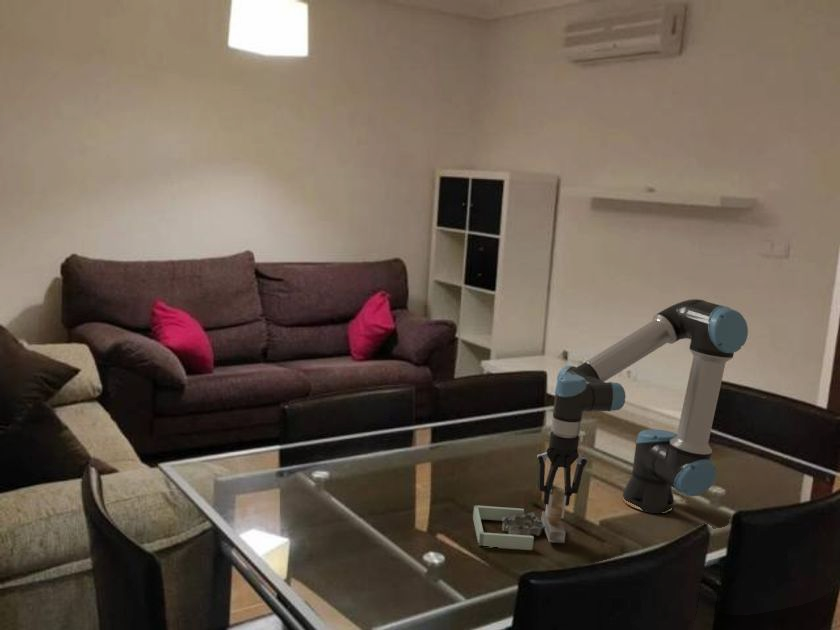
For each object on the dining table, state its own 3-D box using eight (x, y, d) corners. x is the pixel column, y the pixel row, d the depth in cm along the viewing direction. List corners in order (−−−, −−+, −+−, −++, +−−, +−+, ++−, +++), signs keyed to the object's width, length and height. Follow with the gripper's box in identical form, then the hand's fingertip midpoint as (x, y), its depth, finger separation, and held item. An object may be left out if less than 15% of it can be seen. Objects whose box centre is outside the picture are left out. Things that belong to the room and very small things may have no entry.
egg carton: (510, 540, 208) (512, 525, 207) (498, 526, 214) (499, 513, 214) (545, 536, 211) (547, 522, 210) (532, 523, 218) (533, 509, 217)
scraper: (555, 522, 217) (560, 478, 214) (564, 542, 205) (570, 497, 203) (541, 521, 217) (546, 477, 214) (549, 542, 205) (555, 495, 202)
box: (522, 520, 219) (523, 508, 218) (532, 550, 203) (533, 537, 202) (472, 516, 219) (474, 505, 218) (478, 546, 202) (480, 534, 201)
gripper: (591, 430, 209) (580, 511, 214) (532, 426, 209) (522, 507, 213) (598, 440, 202) (587, 524, 207) (537, 435, 201) (527, 519, 206)
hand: (554, 515), depth 210 cm, fingers closed on scraper, 3 cm apart
